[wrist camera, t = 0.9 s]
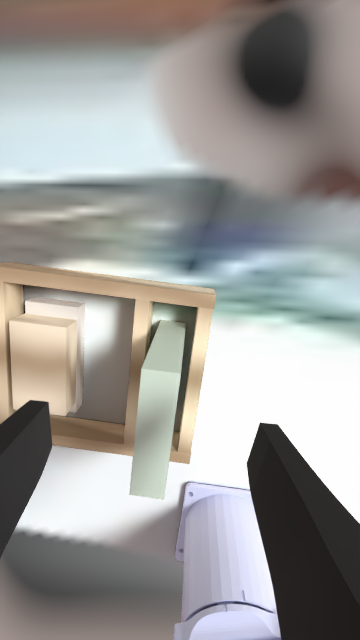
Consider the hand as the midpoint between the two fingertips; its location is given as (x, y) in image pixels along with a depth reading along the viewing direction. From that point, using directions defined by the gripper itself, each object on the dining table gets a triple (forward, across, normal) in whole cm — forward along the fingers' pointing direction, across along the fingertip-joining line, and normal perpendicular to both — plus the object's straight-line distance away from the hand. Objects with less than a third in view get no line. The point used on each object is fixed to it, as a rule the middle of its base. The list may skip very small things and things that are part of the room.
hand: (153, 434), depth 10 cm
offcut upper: (+12, +9, +6) cm, 16 cm away
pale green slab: (+13, -1, +6) cm, 14 cm away
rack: (+13, +4, +6) cm, 15 cm away
